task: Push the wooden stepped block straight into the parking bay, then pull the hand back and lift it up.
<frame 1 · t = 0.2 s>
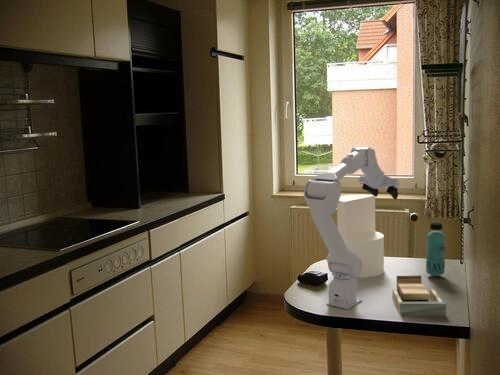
hand: (386, 195, 189), 31 cm above the table, tool tilted 45°, fingers open, 7 cm apart
parking bay: (417, 305, 168), on the table
beverage bottle: (435, 277, 194), on the table
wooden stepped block: (412, 296, 176), on the table
cylinder: (360, 270, 205), on the table
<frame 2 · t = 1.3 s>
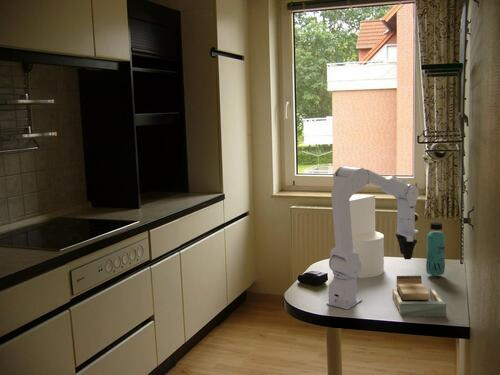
hand: (405, 256, 185), 10 cm above the table, tool pointing down, fingers open, 6 cm apart
nothing on the table moved.
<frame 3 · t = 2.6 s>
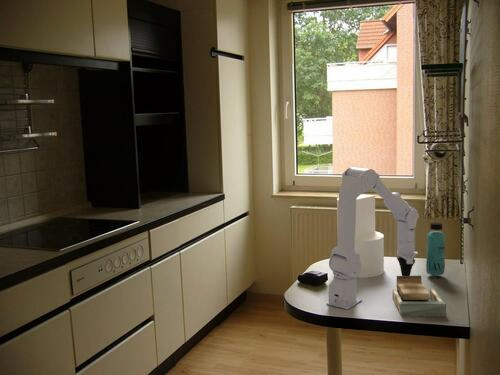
hand: (405, 277, 186), 3 cm above the table, tool pointing down, fingers closed
nothing on the table moved.
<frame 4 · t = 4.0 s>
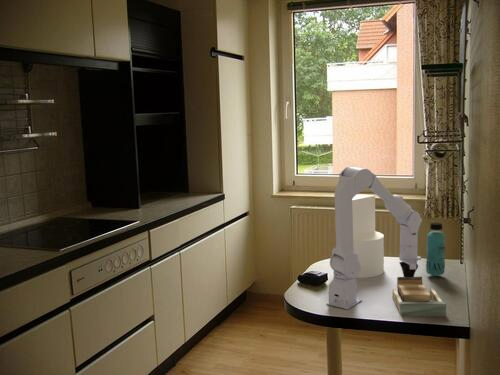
hand: (408, 283, 181), 2 cm above the table, tool pointing down, fingers closed
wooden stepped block: (413, 297, 175), on the table, touching gripper
everything else where it was.
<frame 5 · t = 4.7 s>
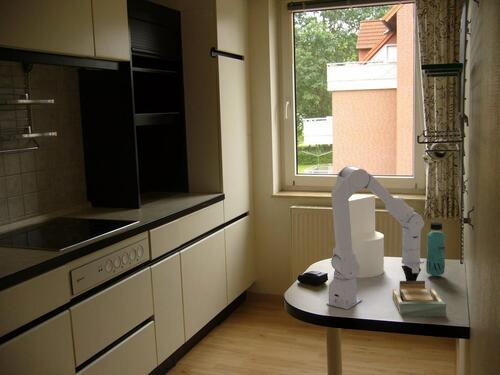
hand: (410, 287, 178), 2 cm above the table, tool pointing down, fingers closed
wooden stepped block: (415, 302, 171), on the table, touching gripper
everything else where it was.
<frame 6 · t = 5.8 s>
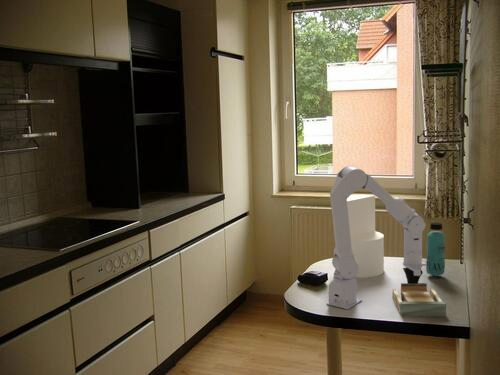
hand: (412, 290, 175), 2 cm above the table, tool pointing down, fingers closed
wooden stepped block: (417, 305, 168), on the table, touching gripper
everything else where it was.
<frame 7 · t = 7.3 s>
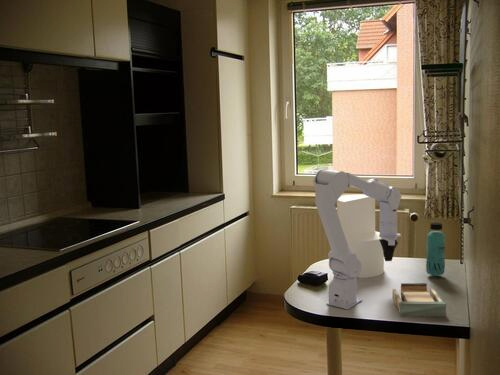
hand: (388, 260, 181), 10 cm above the table, tool pointing down, fingers closed
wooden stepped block: (417, 305, 168), on the table
everything else where it was.
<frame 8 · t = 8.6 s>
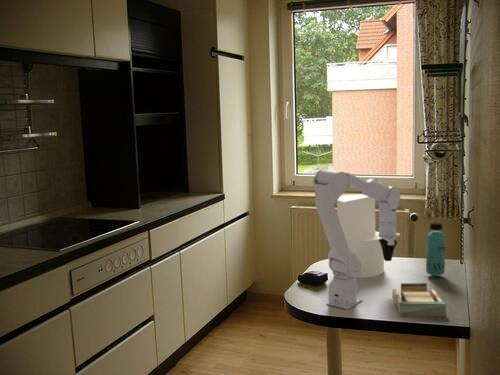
hand: (387, 260, 181), 10 cm above the table, tool pointing down, fingers closed
nothing on the table moved.
at the end: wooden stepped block 0.4 cm off-centre on the parking bay, point 0.0 cm above the parking bay's base; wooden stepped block tilted 0°; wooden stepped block moved 7.7 cm from its start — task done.
